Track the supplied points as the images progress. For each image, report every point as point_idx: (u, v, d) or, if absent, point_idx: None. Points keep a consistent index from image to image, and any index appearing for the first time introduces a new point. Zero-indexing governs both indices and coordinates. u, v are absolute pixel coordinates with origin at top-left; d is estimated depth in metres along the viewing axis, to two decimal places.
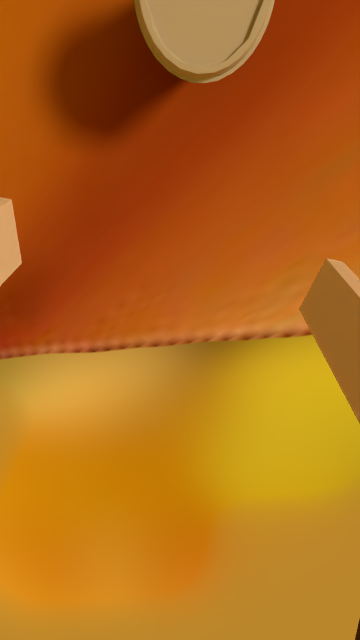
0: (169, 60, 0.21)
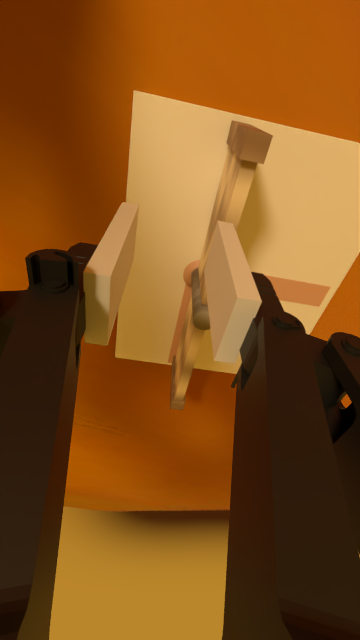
0: None
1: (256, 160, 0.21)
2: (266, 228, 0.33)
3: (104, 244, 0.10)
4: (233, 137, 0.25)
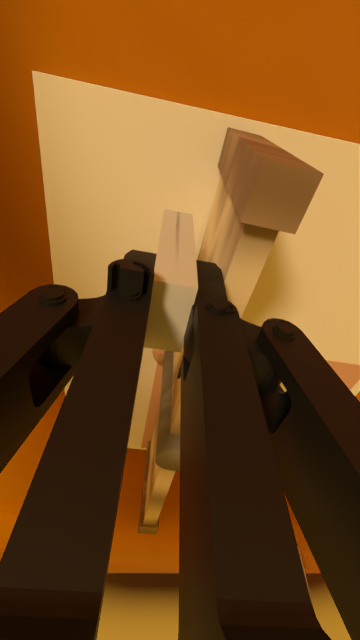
0: None
1: (280, 225, 0.09)
2: (276, 292, 0.21)
3: (162, 252, 0.10)
4: (229, 161, 0.13)
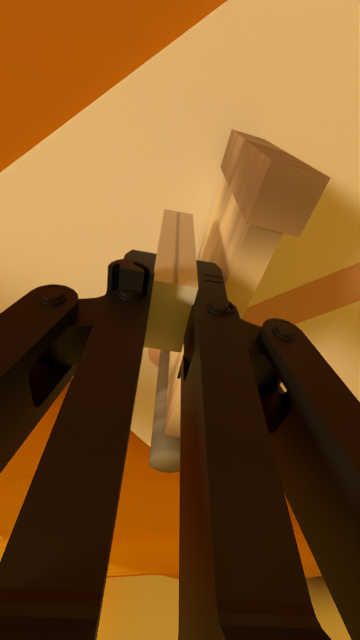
0: None
1: (285, 228, 0.09)
2: (198, 252, 0.19)
3: (162, 252, 0.10)
4: (233, 163, 0.13)
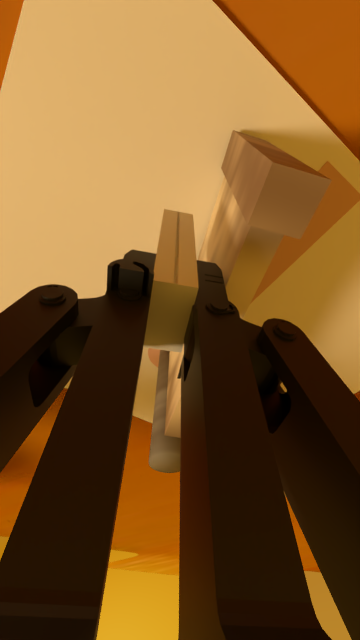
0: None
1: (286, 229, 0.09)
2: None
3: (161, 252, 0.10)
4: (234, 164, 0.13)
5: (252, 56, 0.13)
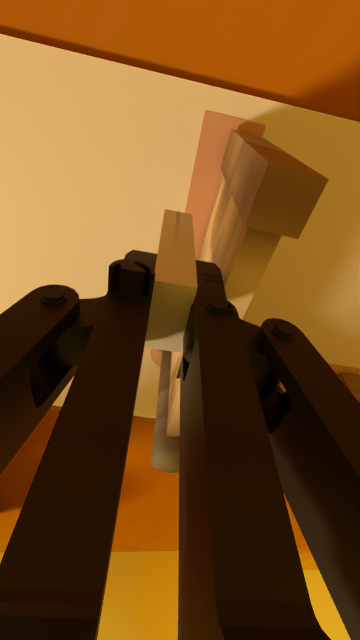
0: None
1: (283, 230, 0.09)
2: (88, 278, 0.21)
3: (162, 252, 0.10)
4: (232, 164, 0.13)
5: (75, 60, 0.14)
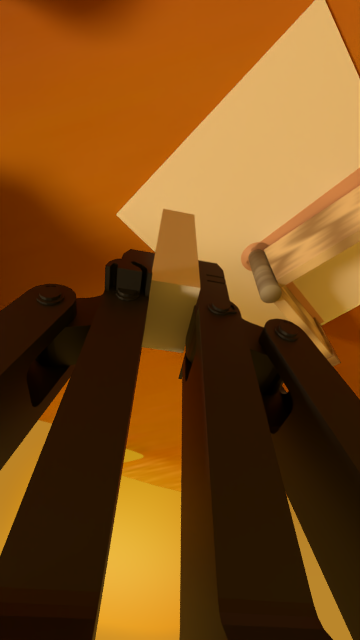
0: None
1: None
2: (264, 183, 0.35)
3: (160, 252, 0.10)
4: None
5: None
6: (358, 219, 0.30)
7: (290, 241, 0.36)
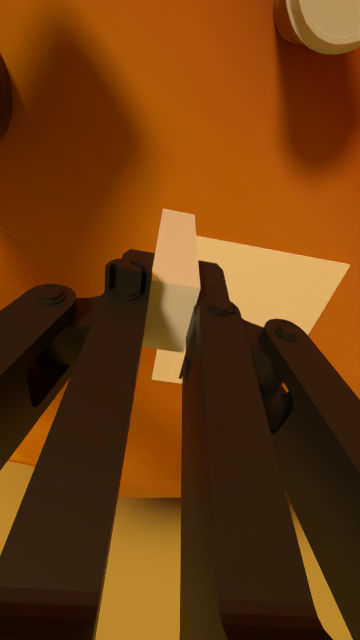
0: None
1: None
2: (258, 301, 0.52)
3: (160, 252, 0.10)
4: None
5: (321, 309, 0.53)
6: None
7: None
